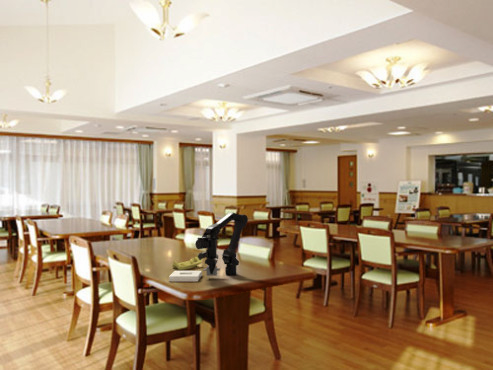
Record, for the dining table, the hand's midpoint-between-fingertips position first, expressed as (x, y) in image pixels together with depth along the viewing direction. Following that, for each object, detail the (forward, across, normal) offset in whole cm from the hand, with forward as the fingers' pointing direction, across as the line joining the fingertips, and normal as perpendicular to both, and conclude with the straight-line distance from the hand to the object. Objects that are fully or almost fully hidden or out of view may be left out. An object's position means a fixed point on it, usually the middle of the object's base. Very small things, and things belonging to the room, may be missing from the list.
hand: (211, 273), depth 253 cm
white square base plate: (+3, 0, -16) cm, 16 cm away
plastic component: (+4, -33, -20) cm, 39 cm away
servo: (+1, 0, 0) cm, 1 cm away
